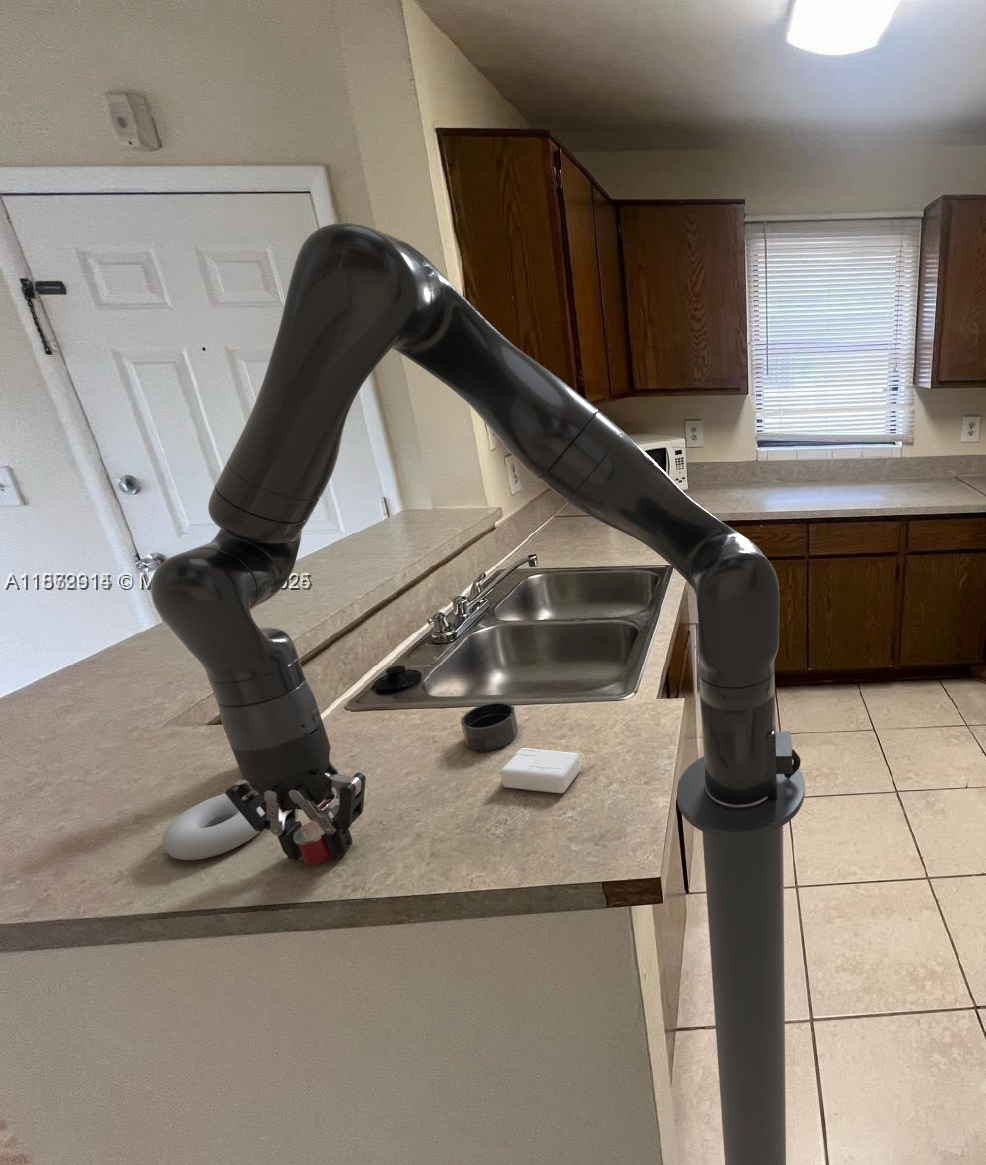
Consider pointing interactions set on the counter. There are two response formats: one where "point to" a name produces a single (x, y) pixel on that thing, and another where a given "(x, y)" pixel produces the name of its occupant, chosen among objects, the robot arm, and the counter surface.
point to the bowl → (489, 726)
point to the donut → (208, 830)
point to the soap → (541, 770)
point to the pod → (312, 843)
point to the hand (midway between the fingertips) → (320, 852)
